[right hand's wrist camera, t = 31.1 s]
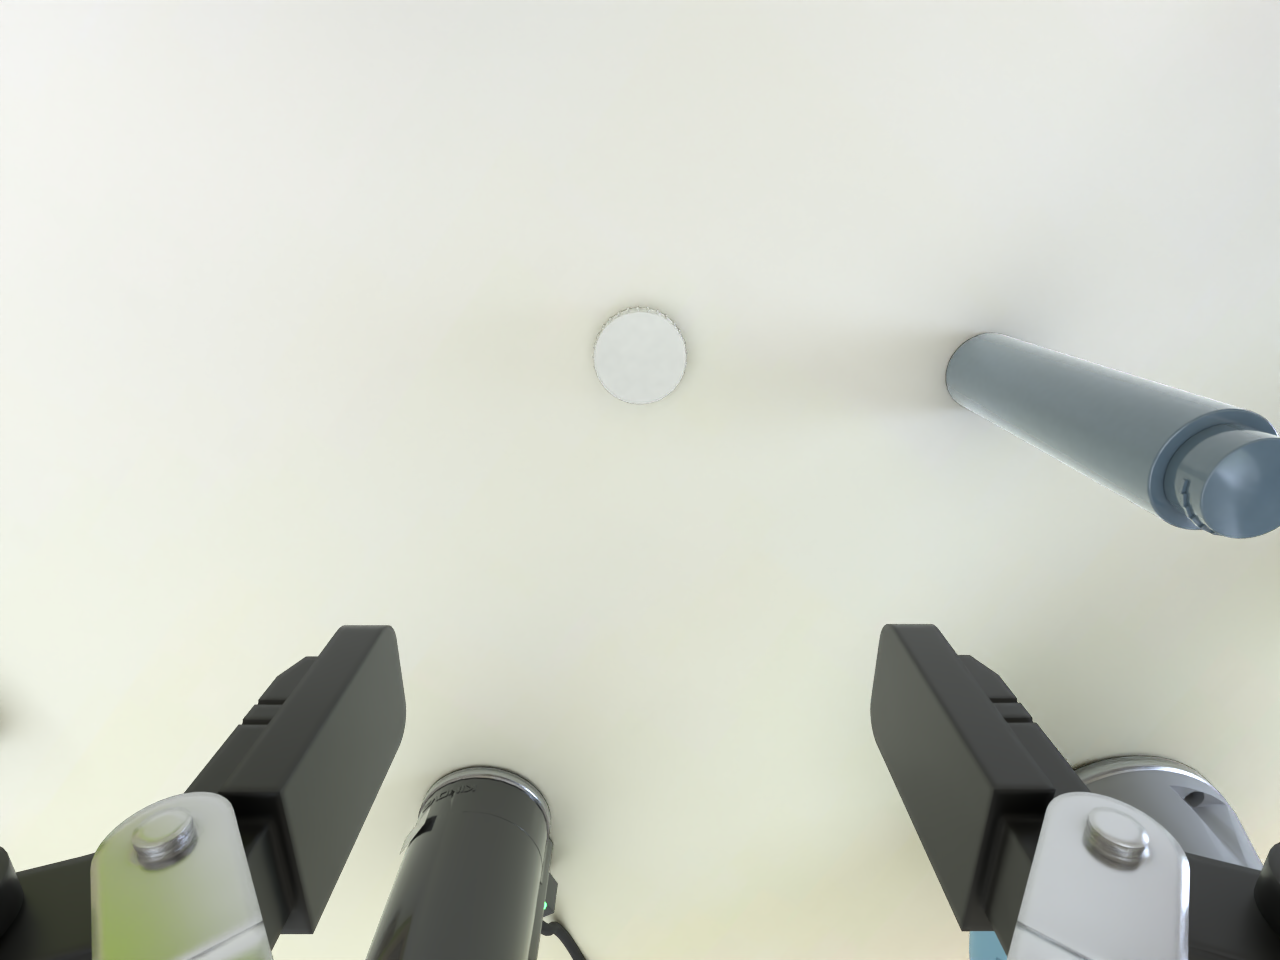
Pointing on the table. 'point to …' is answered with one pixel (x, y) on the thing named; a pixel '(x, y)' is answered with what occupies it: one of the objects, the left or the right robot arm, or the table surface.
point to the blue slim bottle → (1128, 433)
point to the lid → (640, 355)
